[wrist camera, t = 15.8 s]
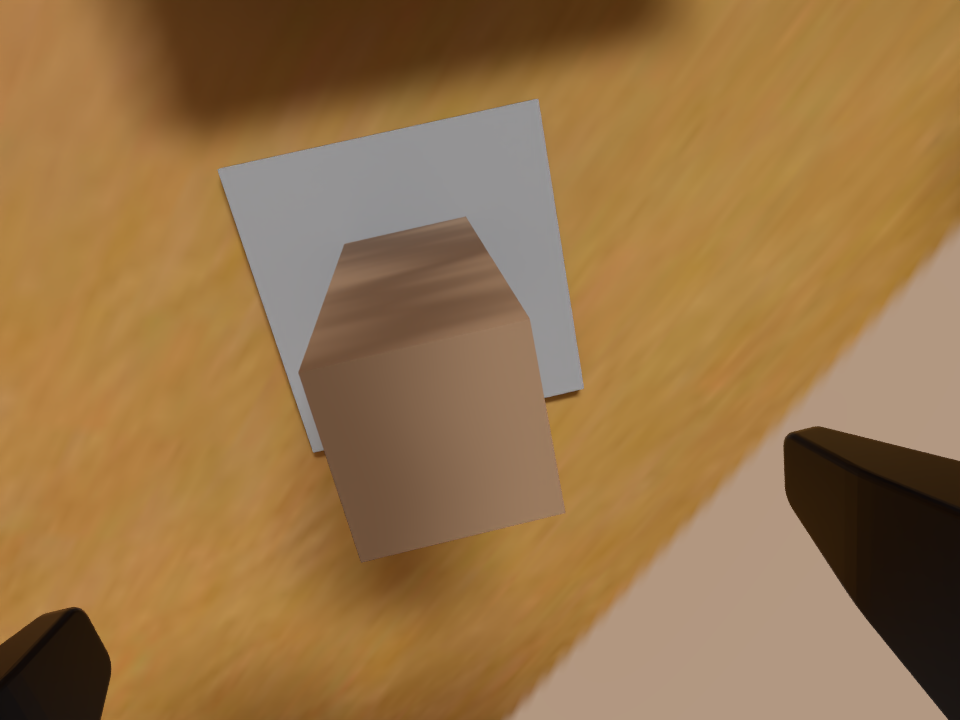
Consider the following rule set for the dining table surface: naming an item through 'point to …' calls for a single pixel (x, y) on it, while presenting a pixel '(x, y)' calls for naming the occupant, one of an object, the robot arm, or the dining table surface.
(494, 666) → the dining table surface
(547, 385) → the mat
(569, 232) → the dining table surface
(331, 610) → the dining table surface
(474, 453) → the brown rectangular block
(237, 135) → the dining table surface
